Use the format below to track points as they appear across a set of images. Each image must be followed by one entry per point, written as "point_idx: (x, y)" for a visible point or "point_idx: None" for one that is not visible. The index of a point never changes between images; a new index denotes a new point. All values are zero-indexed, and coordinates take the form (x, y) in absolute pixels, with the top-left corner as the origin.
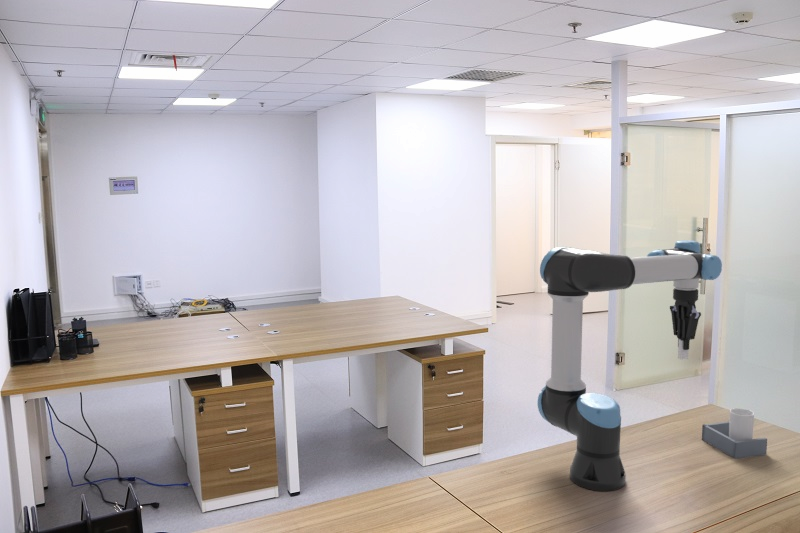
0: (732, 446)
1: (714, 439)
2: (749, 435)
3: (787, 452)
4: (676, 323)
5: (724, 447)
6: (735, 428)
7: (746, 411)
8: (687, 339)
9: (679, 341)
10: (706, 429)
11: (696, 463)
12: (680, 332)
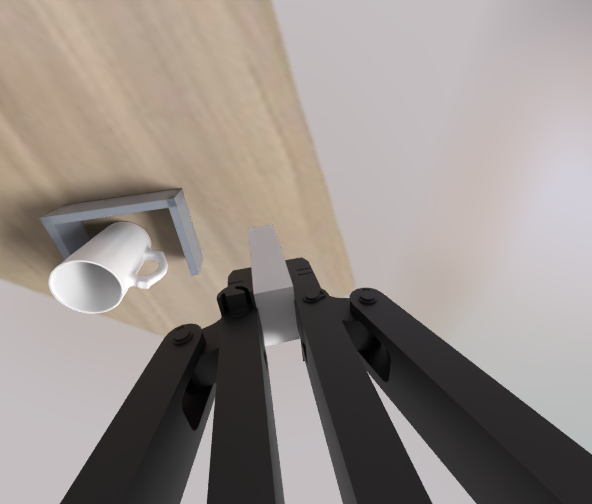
0: (61, 211)
1: (131, 199)
2: (86, 266)
3: (117, 312)
4: (429, 397)
5: (96, 203)
6: (83, 246)
7: (114, 303)
8: (175, 329)
9: (280, 278)
10: (159, 199)
11: (8, 89)
12: (305, 339)
